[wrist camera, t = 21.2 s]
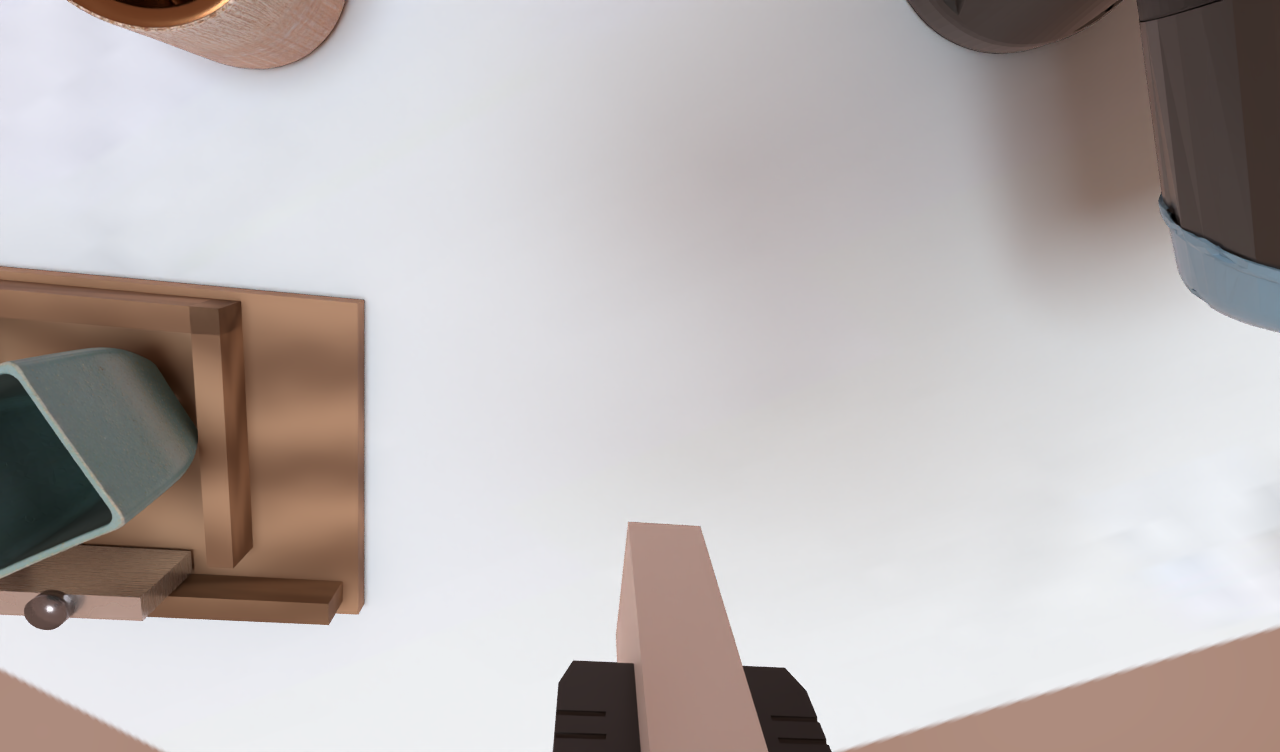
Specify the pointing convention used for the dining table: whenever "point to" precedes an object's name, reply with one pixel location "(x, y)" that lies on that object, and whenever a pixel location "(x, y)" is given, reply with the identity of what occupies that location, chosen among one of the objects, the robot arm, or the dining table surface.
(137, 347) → the frame
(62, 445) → the flower pot
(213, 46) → the planter
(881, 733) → the dining table surface
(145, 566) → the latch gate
